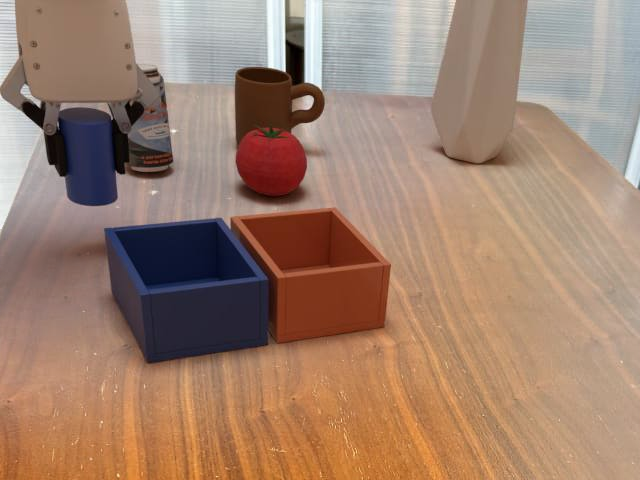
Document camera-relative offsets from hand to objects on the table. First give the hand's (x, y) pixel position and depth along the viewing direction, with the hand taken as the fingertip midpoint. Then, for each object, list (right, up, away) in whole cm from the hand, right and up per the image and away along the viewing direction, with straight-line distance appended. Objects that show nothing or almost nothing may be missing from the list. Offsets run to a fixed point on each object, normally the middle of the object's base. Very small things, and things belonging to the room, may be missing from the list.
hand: (89, 168), depth 90 cm
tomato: (+15, +6, +22) cm, 28 cm away
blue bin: (+11, -16, -3) cm, 19 cm away
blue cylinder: (0, -2, +2) cm, 3 cm away
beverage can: (-1, +10, +23) cm, 25 cm away
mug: (+15, +16, +33) cm, 39 cm away
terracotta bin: (+22, -13, +2) cm, 26 cm away
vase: (+41, +19, +40) cm, 60 cm away
